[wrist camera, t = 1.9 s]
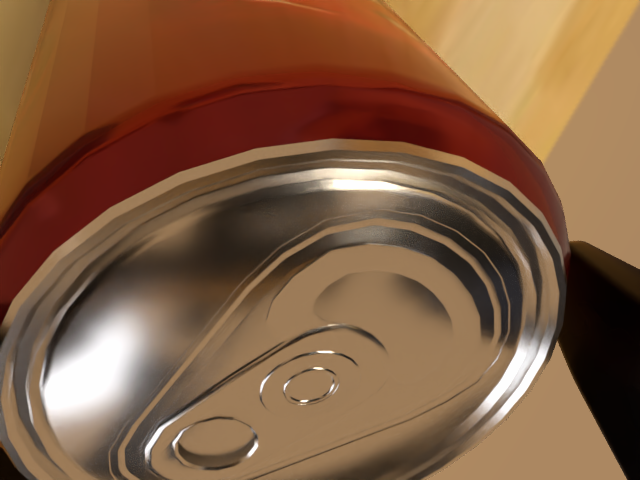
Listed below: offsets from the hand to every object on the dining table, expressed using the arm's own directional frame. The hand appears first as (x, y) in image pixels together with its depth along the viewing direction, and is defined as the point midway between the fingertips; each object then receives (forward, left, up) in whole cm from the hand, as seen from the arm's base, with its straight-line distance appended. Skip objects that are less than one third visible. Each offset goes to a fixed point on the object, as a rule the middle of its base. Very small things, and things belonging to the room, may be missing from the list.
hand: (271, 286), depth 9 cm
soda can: (0, 0, -10) cm, 10 cm away
